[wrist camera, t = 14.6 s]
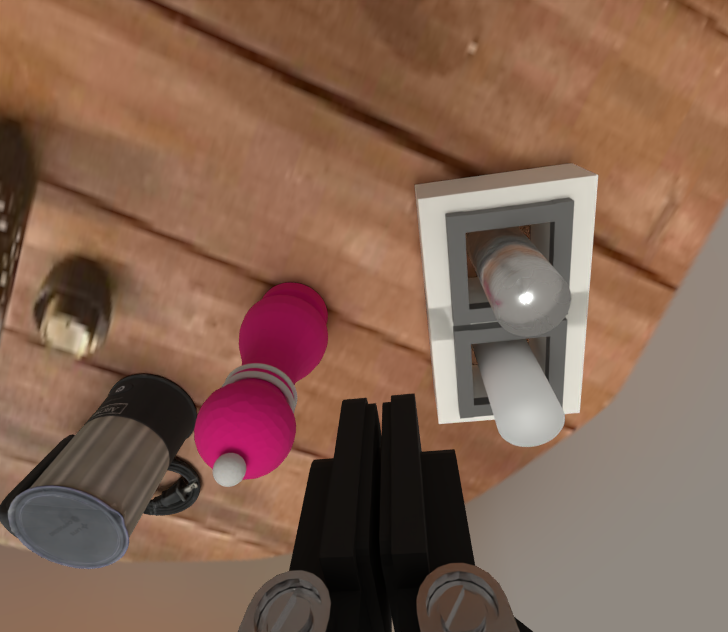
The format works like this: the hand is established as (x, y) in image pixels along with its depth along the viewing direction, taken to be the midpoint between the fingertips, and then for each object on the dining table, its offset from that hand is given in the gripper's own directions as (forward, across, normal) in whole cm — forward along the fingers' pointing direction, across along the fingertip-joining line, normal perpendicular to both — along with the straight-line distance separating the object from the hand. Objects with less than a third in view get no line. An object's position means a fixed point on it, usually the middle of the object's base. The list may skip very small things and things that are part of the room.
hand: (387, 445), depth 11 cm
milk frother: (+29, +28, +23) cm, 47 cm away
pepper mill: (+29, +10, +10) cm, 33 cm away
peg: (+29, -8, +6) cm, 31 cm away
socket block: (+29, -8, +10) cm, 32 cm away
